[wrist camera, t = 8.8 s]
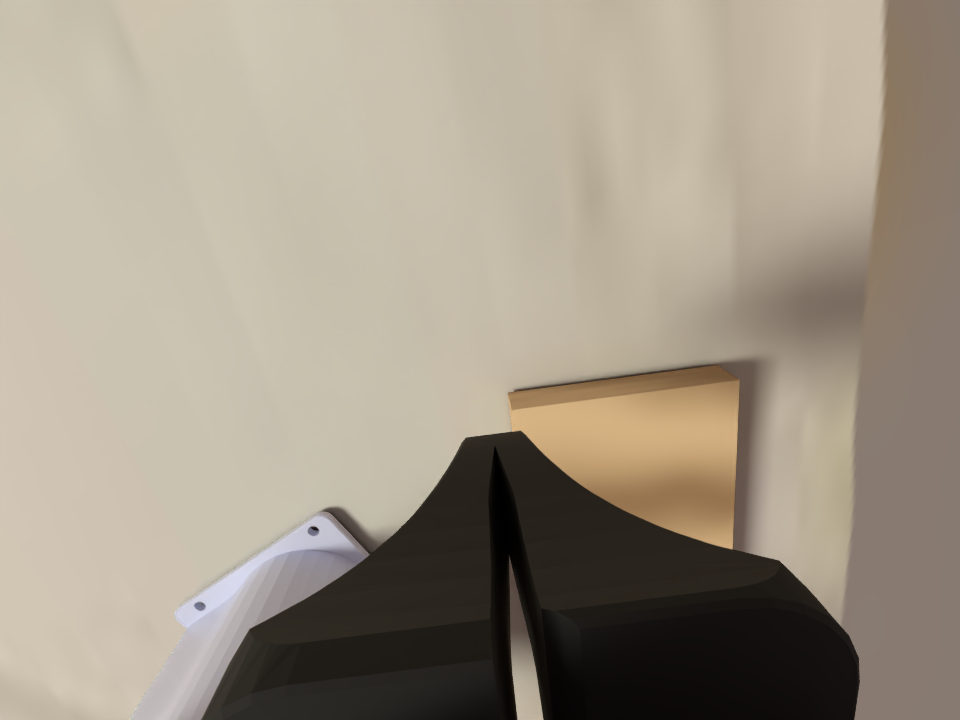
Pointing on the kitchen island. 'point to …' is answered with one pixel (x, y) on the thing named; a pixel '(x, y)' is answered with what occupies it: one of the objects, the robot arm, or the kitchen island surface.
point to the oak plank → (645, 444)
